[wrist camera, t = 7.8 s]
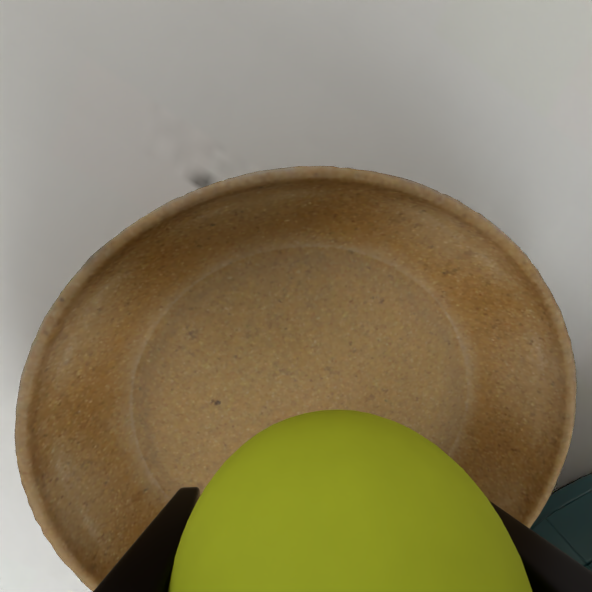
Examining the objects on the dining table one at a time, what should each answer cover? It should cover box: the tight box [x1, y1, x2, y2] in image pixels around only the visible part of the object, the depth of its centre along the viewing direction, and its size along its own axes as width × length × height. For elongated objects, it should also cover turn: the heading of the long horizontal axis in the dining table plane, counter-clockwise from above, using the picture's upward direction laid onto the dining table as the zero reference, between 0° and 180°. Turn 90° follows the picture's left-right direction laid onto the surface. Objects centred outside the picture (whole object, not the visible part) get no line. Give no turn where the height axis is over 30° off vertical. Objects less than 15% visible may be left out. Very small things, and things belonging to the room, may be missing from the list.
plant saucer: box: [15, 166, 577, 591], centre depth 11 cm, size 15×15×3 cm
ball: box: [168, 409, 532, 592], centre depth 6 cm, size 6×6×6 cm
